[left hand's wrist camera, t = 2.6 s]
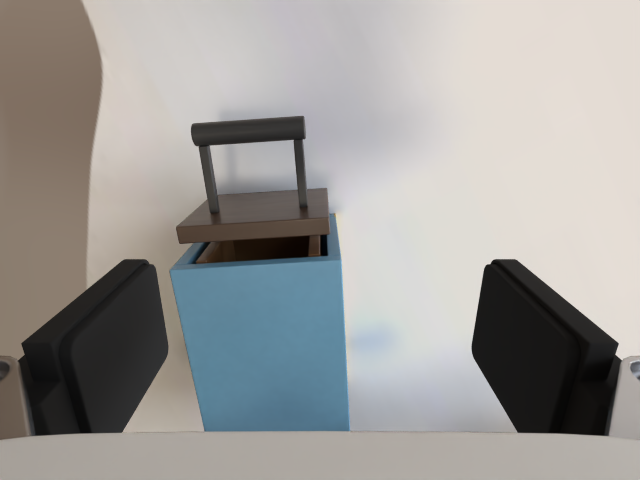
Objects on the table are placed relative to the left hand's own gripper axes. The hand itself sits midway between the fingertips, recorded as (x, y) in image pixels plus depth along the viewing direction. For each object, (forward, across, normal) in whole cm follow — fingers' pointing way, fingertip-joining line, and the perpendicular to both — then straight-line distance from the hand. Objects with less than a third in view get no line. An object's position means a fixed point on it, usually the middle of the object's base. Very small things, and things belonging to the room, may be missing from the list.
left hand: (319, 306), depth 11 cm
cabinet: (+24, -4, -14) cm, 27 cm away
